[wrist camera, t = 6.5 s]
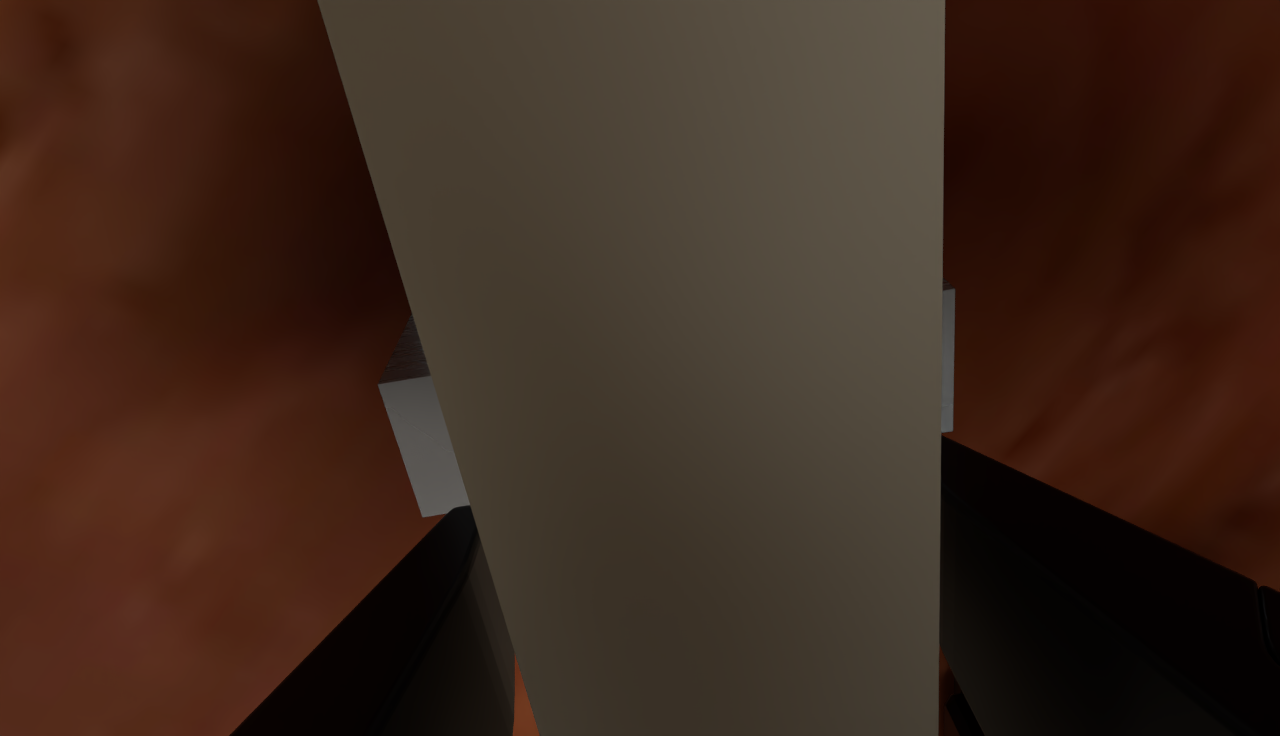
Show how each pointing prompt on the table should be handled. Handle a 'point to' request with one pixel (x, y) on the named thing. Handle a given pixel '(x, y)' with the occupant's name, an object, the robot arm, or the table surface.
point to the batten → (681, 340)
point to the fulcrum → (429, 439)
